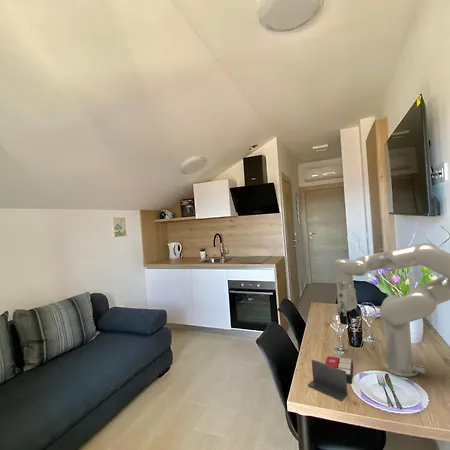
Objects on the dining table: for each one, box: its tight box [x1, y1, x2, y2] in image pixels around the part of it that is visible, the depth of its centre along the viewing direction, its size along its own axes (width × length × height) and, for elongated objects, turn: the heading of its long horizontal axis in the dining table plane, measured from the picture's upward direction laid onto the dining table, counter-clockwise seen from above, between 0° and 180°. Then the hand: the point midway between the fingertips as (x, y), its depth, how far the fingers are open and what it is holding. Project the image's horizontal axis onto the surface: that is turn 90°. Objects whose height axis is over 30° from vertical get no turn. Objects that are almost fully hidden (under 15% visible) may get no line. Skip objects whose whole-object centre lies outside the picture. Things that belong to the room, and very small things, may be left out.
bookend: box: [307, 359, 349, 402], centre depth 108 cm, size 14×5×9 cm, turn 40°
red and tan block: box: [324, 355, 354, 385], centre depth 120 cm, size 11×4×15 cm
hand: (348, 321), depth 130 cm, fingers open, 9 cm apart
